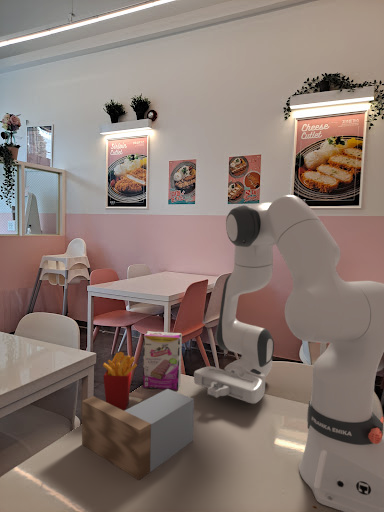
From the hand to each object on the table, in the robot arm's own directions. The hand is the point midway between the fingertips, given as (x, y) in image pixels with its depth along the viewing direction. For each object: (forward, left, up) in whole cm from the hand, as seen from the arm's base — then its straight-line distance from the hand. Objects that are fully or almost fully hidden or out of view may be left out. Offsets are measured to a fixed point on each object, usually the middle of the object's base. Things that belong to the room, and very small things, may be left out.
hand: (211, 393), depth 96 cm
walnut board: (+5, +29, -5) cm, 30 cm away
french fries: (+20, +13, -5) cm, 25 cm away
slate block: (0, +20, -5) cm, 21 cm away
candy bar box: (+20, -3, -5) cm, 21 cm away
